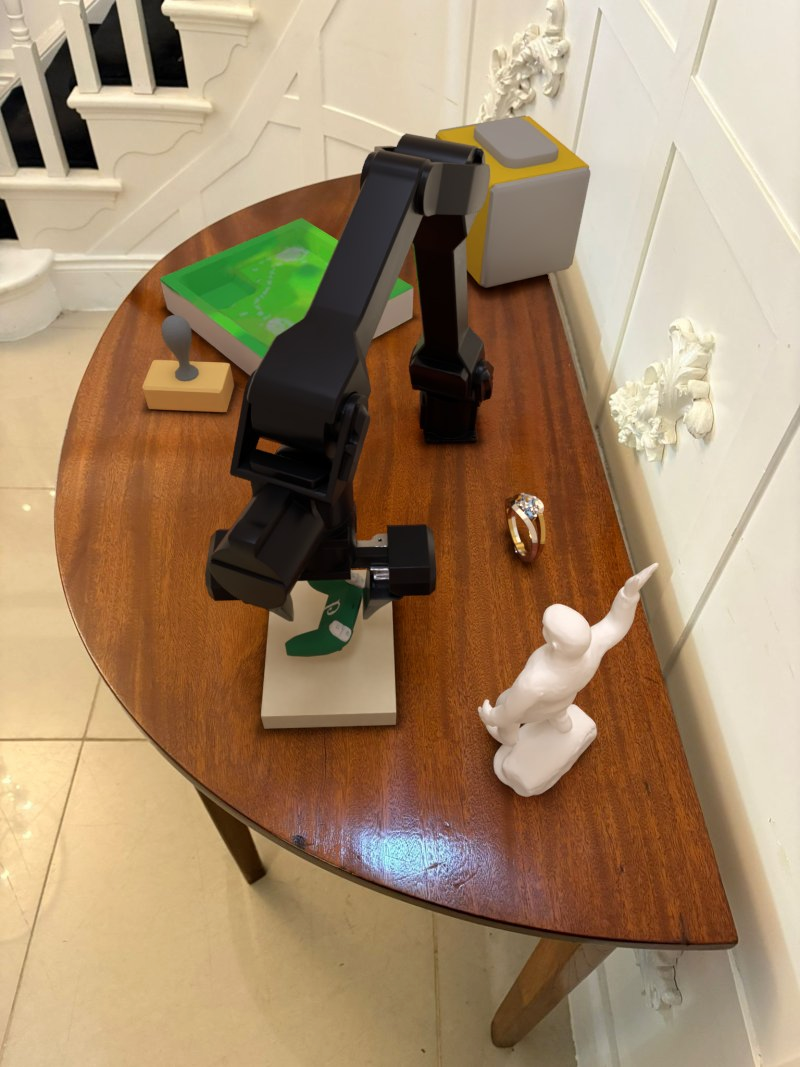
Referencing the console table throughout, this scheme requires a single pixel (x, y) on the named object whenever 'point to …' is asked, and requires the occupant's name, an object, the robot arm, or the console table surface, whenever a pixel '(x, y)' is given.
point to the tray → (262, 291)
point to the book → (329, 670)
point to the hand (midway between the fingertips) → (328, 616)
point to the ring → (526, 514)
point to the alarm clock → (523, 201)
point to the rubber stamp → (186, 376)
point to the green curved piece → (331, 618)
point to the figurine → (555, 694)
